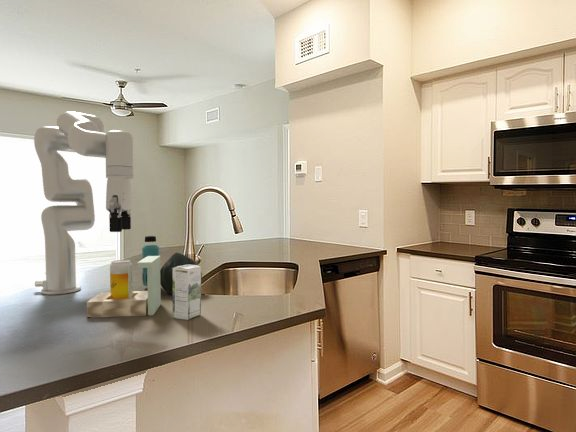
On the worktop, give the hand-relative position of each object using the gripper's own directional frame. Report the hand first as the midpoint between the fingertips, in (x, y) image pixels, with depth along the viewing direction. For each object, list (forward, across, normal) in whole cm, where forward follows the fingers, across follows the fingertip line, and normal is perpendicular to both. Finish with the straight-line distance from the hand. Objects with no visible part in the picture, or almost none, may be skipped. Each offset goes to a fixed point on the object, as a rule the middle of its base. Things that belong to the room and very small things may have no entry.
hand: (120, 230), depth 117 cm
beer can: (+24, 0, 0) cm, 24 cm away
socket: (+24, 0, 0) cm, 24 cm away
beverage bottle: (+24, -31, +2) cm, 39 cm away
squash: (+24, -23, +14) cm, 36 cm away
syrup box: (+24, +9, +20) cm, 33 cm away
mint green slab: (+24, 0, +8) cm, 26 cm away
